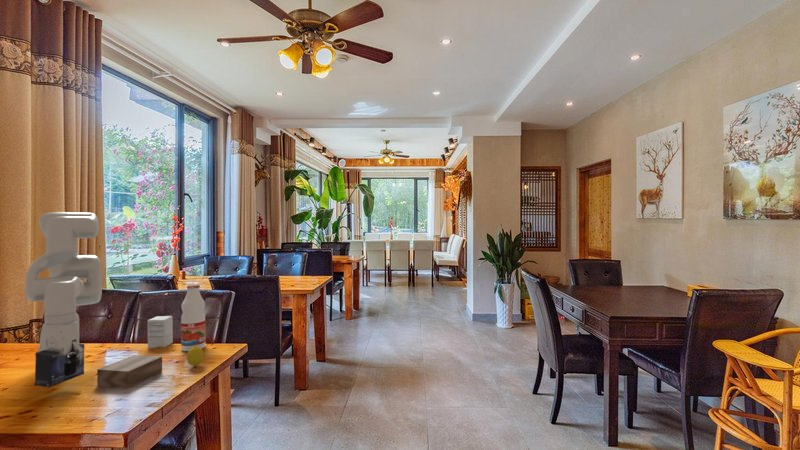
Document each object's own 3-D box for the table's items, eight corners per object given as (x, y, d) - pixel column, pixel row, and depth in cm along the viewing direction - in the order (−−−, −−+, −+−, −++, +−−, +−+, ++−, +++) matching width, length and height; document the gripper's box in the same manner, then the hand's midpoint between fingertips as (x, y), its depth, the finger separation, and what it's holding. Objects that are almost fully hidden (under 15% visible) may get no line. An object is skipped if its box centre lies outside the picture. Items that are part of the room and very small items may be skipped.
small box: (50, 388, 113) (49, 354, 113) (33, 386, 114) (33, 352, 114) (85, 374, 123) (85, 343, 123) (70, 372, 125) (70, 341, 124)
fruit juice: (208, 344, 168) (207, 283, 168) (202, 350, 158) (201, 286, 159) (185, 345, 165) (185, 284, 166) (177, 352, 156) (177, 287, 157)
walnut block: (97, 387, 123) (97, 369, 123) (134, 371, 137) (134, 355, 137) (128, 389, 121) (127, 371, 121) (162, 373, 135) (162, 356, 135)
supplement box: (156, 343, 170) (156, 316, 170) (173, 342, 170) (173, 315, 171) (147, 348, 162) (146, 320, 163) (164, 347, 163) (164, 319, 163)
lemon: (206, 365, 142) (206, 344, 142) (194, 370, 136) (194, 348, 137) (196, 363, 144) (195, 343, 144) (183, 368, 138) (183, 347, 138)
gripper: (24, 320, 116) (24, 376, 116) (71, 323, 114) (72, 380, 114) (50, 314, 123) (50, 366, 124) (95, 316, 121) (95, 370, 121)
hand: (60, 372), depth 119 cm, fingers closed on small box, 6 cm apart
